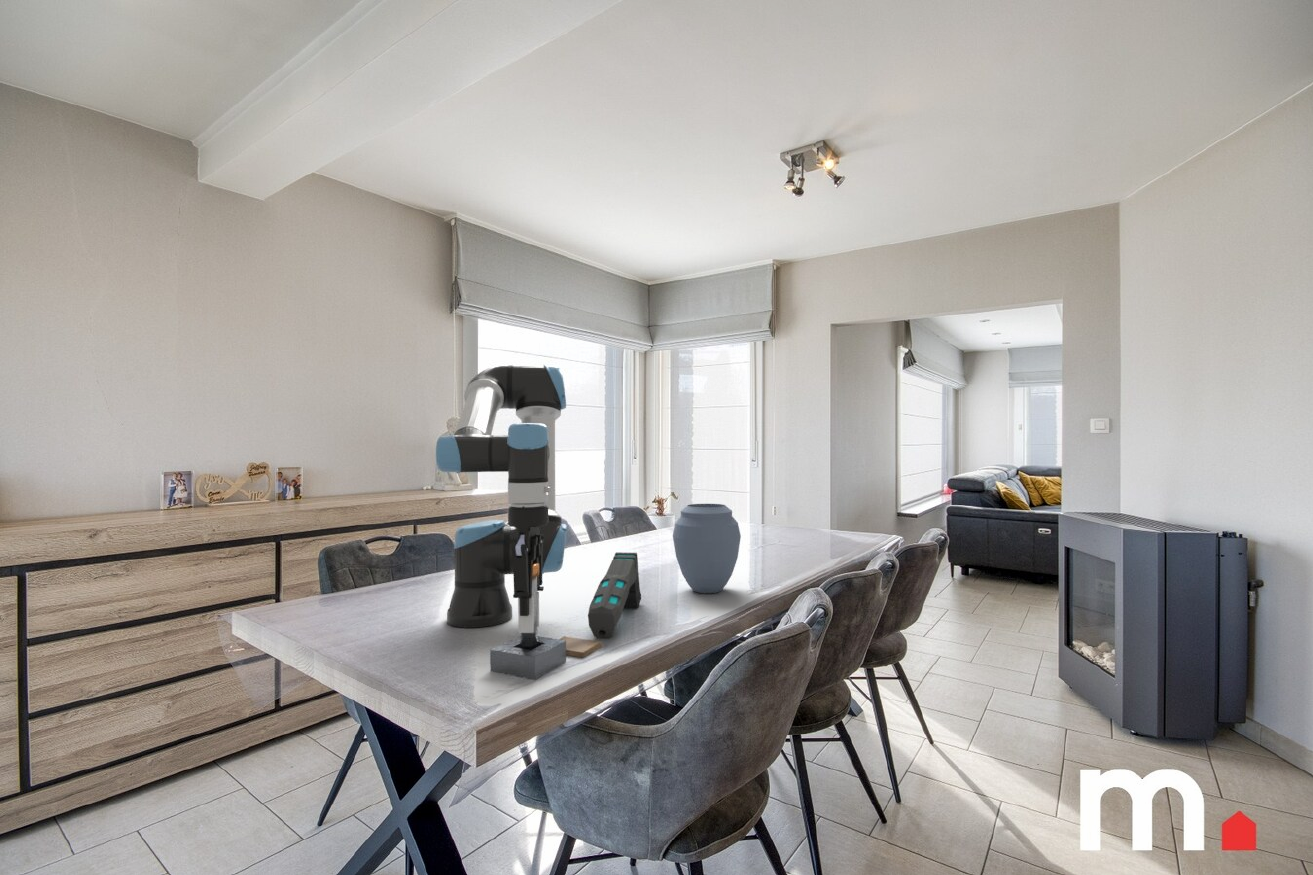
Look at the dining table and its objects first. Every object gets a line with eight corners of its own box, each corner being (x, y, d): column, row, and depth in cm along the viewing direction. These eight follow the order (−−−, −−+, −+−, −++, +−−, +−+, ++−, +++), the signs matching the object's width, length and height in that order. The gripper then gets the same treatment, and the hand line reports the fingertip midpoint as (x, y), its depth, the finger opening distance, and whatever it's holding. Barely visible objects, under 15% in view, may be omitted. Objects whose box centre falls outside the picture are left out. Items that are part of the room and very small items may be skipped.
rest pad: (545, 651, 120) (545, 646, 120) (564, 641, 127) (564, 636, 127) (583, 657, 117) (583, 652, 117) (601, 646, 123) (601, 641, 123)
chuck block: (490, 671, 110) (490, 649, 110) (523, 654, 119) (523, 634, 119) (535, 679, 106) (535, 657, 106) (566, 661, 115) (566, 640, 115)
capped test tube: (536, 647, 110) (535, 566, 110) (516, 647, 111) (515, 566, 111) (541, 640, 114) (541, 562, 114) (522, 640, 114) (522, 562, 115)
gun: (643, 596, 158) (639, 545, 153) (620, 670, 130) (614, 610, 126) (619, 596, 159) (614, 545, 154) (591, 669, 131) (584, 609, 127)
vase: (744, 584, 178) (743, 502, 178) (738, 600, 159) (737, 509, 159) (680, 581, 182) (679, 501, 183) (666, 597, 163) (666, 508, 164)
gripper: (536, 509, 104) (536, 643, 104) (558, 500, 120) (558, 617, 120) (494, 509, 105) (494, 642, 105) (521, 500, 121) (522, 616, 121)
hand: (529, 628), depth 112 cm, fingers closed on capped test tube, 3 cm apart
